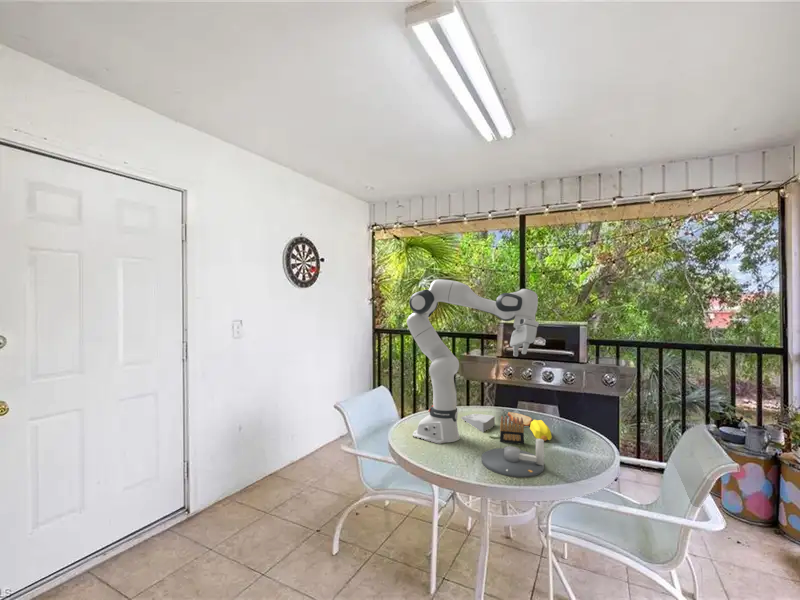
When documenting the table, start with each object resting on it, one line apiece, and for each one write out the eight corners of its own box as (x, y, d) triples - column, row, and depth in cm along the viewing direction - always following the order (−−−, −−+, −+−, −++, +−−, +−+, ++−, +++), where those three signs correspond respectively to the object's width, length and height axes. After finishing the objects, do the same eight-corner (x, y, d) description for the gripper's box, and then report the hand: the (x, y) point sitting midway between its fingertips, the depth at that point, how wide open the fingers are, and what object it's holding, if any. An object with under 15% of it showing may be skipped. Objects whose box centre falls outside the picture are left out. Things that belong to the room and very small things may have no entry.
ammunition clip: (500, 441, 174) (500, 416, 174) (499, 440, 176) (499, 414, 176) (524, 444, 171) (524, 417, 172) (523, 442, 173) (523, 416, 173)
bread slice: (509, 414, 219) (509, 408, 219) (540, 421, 207) (540, 414, 207) (496, 422, 205) (496, 415, 205) (528, 429, 193) (528, 421, 193)
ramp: (458, 416, 214) (458, 407, 214) (486, 416, 215) (486, 407, 215) (468, 433, 186) (468, 422, 186) (500, 433, 187) (500, 422, 187)
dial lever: (502, 460, 149) (503, 436, 149) (505, 455, 154) (505, 432, 154) (543, 467, 142) (543, 443, 142) (544, 461, 148) (544, 438, 148)
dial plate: (474, 469, 145) (474, 464, 145) (488, 448, 166) (488, 444, 166) (540, 482, 134) (540, 477, 134) (546, 457, 156) (546, 453, 156)
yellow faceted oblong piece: (536, 442, 174) (553, 443, 173) (536, 428, 174) (553, 428, 173) (528, 429, 192) (544, 430, 191) (528, 416, 192) (544, 417, 191)
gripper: (509, 327, 177) (504, 355, 173) (526, 318, 157) (521, 350, 153) (521, 330, 177) (517, 358, 173) (540, 322, 157) (536, 354, 153)
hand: (519, 355), depth 163 cm, fingers open, 8 cm apart
